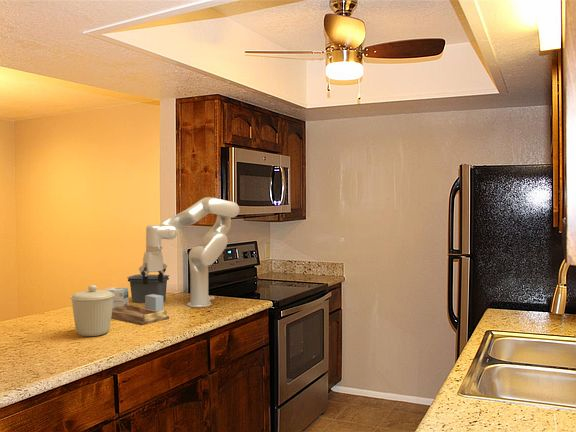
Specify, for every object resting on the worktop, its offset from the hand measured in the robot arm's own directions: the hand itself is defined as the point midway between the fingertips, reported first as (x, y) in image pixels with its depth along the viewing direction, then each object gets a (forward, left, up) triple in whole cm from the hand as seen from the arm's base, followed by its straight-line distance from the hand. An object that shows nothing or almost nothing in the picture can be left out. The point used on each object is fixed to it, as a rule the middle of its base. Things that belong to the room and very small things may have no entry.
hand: (153, 283), depth 277 cm
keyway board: (+14, +4, -15) cm, 21 cm away
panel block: (-1, 0, -15) cm, 15 cm away
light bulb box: (+7, -20, -15) cm, 26 cm away
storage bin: (-16, -22, -15) cm, 31 cm away
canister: (+44, +14, -15) cm, 49 cm away
